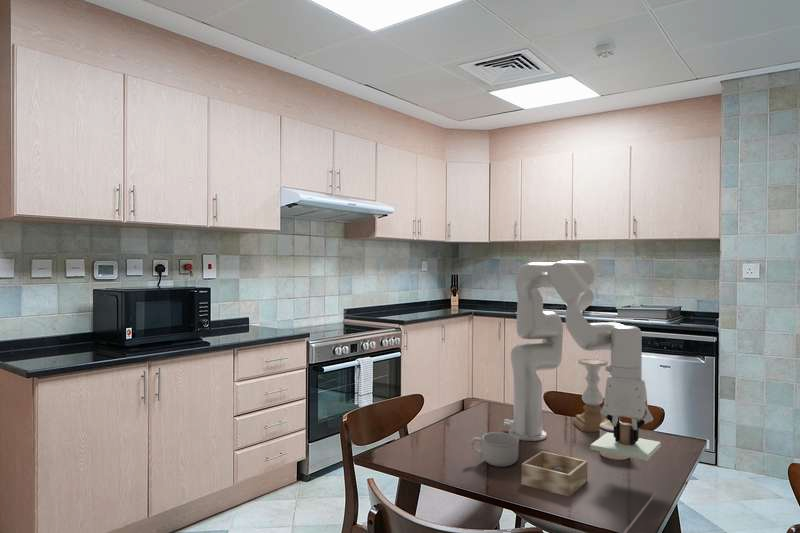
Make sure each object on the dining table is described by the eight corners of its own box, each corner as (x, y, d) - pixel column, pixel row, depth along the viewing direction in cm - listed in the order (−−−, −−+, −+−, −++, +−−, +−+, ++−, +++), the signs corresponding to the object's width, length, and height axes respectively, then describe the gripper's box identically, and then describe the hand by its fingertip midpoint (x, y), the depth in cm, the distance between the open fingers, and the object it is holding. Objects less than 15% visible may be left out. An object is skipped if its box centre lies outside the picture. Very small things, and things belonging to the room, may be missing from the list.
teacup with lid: (631, 462, 166) (631, 423, 166) (598, 458, 169) (598, 419, 169) (629, 449, 177) (629, 413, 177) (599, 446, 181) (599, 410, 181)
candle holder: (601, 422, 207) (602, 358, 207) (613, 431, 196) (614, 363, 196) (572, 422, 207) (572, 358, 207) (582, 431, 196) (583, 363, 196)
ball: (550, 479, 151) (550, 467, 151) (555, 475, 153) (555, 464, 153) (562, 482, 149) (562, 470, 149) (566, 478, 151) (566, 466, 151)
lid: (590, 449, 147) (590, 425, 147) (607, 436, 158) (607, 414, 158) (646, 460, 138) (647, 435, 138) (660, 446, 149) (660, 423, 149)
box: (521, 486, 148) (521, 463, 148) (541, 472, 158) (541, 450, 158) (569, 499, 140) (569, 475, 140) (587, 483, 150) (587, 461, 150)
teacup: (520, 460, 167) (521, 434, 167) (516, 473, 157) (516, 445, 157) (474, 455, 172) (475, 429, 172) (467, 467, 161) (467, 439, 161)
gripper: (590, 371, 150) (590, 439, 150) (655, 378, 140) (655, 452, 140) (599, 367, 156) (599, 433, 156) (662, 374, 146) (662, 444, 146)
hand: (625, 441), depth 148 cm, fingers closed on lid, 3 cm apart
